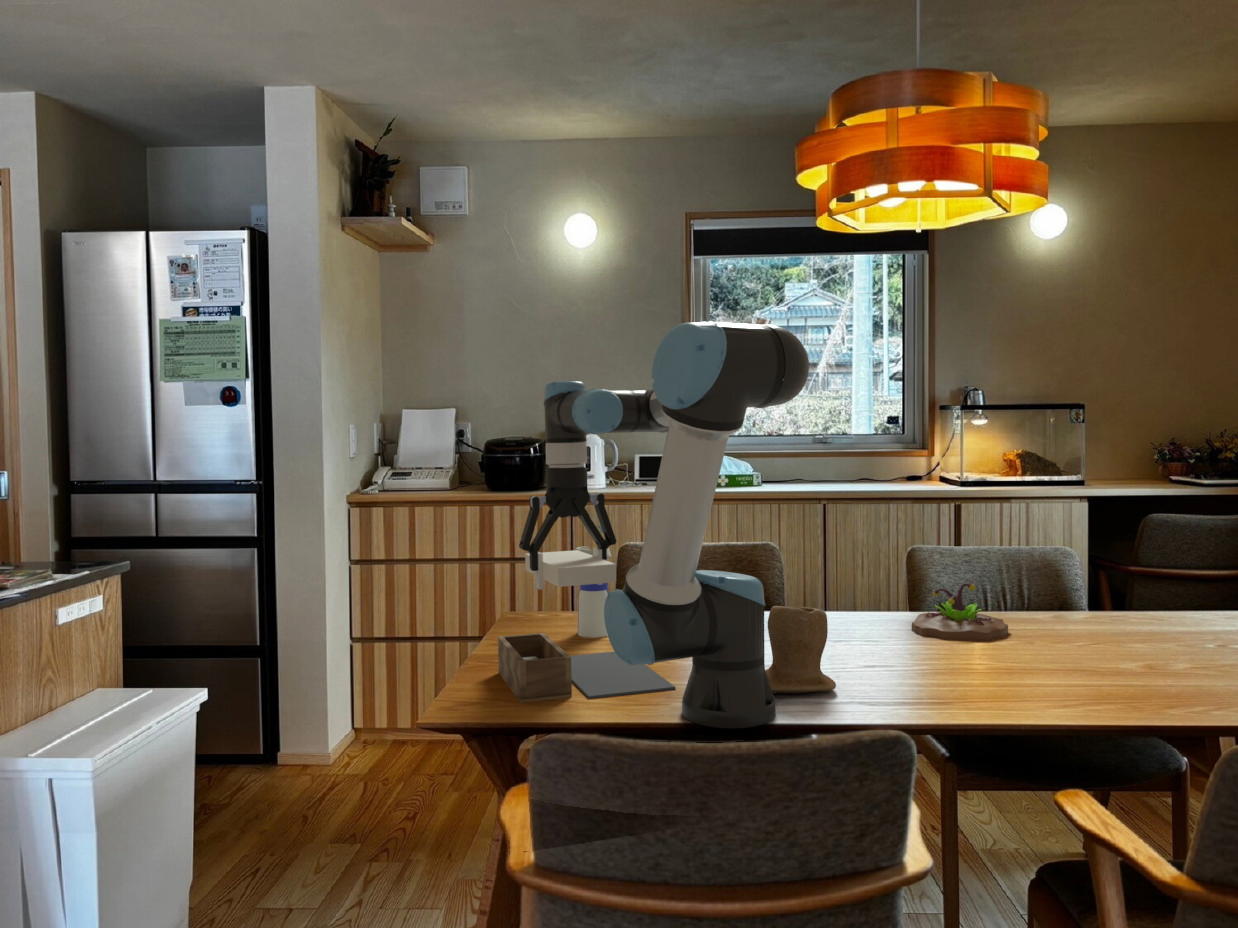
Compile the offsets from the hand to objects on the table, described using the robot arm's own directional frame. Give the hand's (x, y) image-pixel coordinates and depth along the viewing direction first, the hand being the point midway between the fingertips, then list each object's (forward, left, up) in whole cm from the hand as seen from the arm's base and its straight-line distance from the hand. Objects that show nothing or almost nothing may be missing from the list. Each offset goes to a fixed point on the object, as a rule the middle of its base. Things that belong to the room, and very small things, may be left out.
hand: (569, 586), depth 175 cm
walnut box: (-1, +7, -18) cm, 19 cm away
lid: (0, 0, +2) cm, 2 cm away
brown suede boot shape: (-19, -35, -18) cm, 44 cm away
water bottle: (+35, -15, -18) cm, 42 cm away
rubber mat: (+1, -8, -18) cm, 19 cm away
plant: (+8, -91, -18) cm, 94 cm away
